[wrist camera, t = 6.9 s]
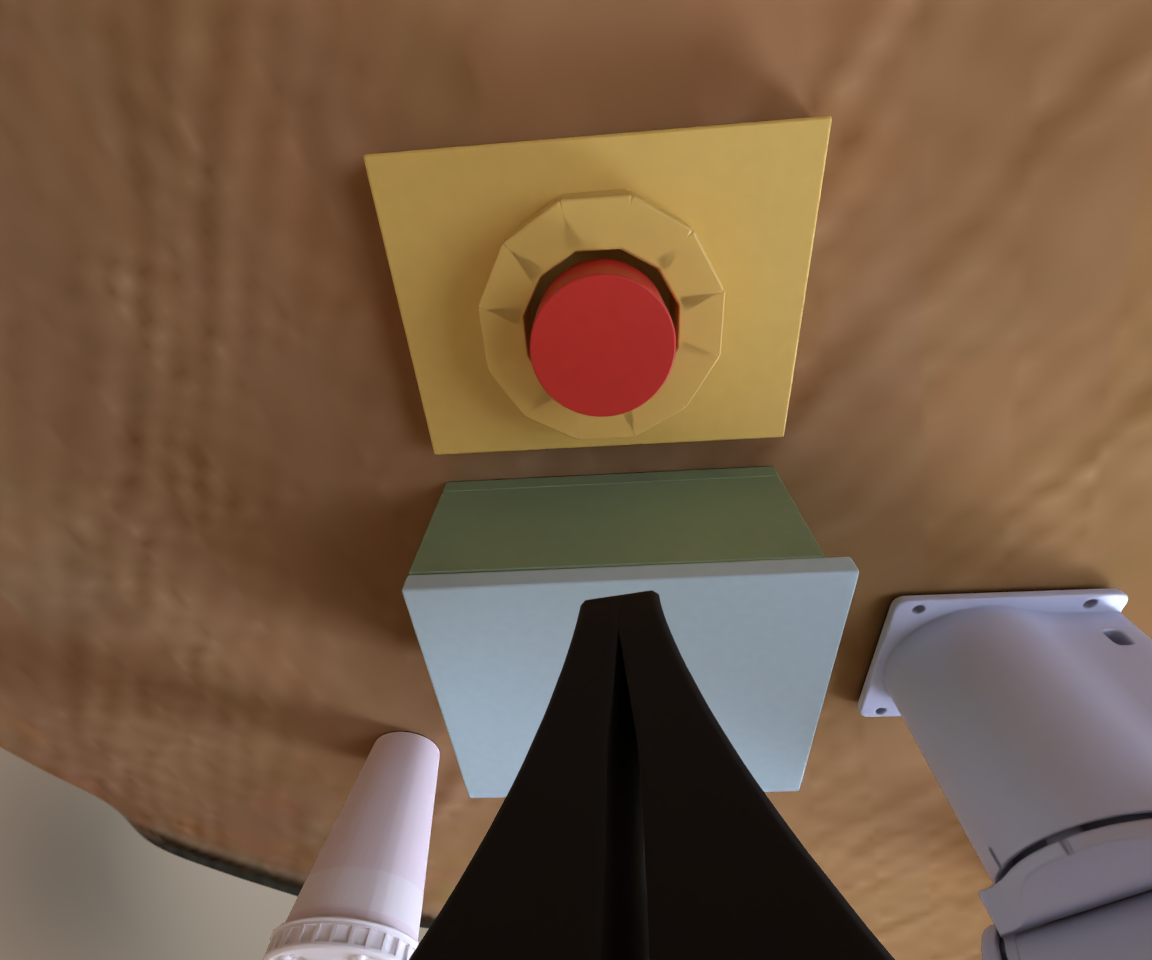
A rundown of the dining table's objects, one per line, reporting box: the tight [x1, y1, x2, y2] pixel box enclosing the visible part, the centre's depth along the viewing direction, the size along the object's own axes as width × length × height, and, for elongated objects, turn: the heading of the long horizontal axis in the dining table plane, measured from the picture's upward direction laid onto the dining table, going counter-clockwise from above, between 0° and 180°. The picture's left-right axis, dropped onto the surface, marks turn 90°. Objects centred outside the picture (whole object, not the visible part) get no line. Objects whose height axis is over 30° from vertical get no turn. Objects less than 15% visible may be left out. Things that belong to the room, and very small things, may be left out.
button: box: [529, 259, 676, 417], centre depth 14 cm, size 4×4×2 cm
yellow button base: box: [364, 116, 832, 455], centre depth 16 cm, size 12×9×3 cm
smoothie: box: [263, 732, 440, 960], centre depth 24 cm, size 6×6×14 cm
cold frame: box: [409, 466, 825, 575], centre depth 21 cm, size 12×11×5 cm
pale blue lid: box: [402, 557, 859, 798], centre depth 19 cm, size 13×11×1 cm
